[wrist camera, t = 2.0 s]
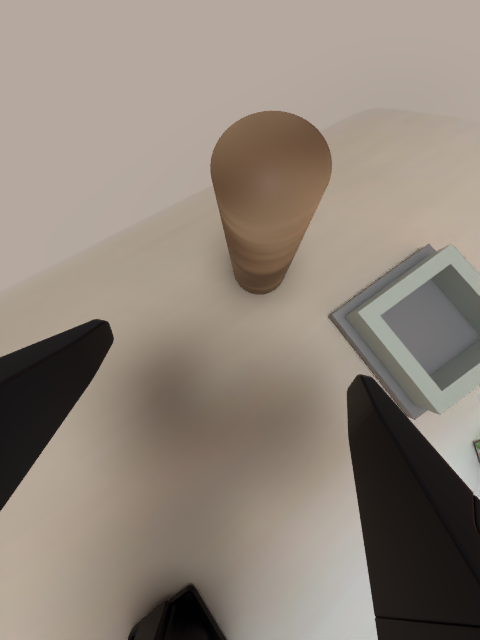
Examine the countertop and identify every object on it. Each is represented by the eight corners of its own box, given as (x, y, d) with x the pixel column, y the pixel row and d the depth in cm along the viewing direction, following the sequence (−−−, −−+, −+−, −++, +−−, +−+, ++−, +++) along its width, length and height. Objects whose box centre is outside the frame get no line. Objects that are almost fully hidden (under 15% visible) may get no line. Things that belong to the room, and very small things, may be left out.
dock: (504, 342, 21) (556, 342, 17) (406, 416, 20) (439, 430, 17) (421, 248, 22) (453, 229, 18) (328, 315, 22) (343, 309, 18)
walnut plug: (295, 274, 22) (357, 174, 9) (253, 304, 22) (257, 245, 9) (264, 234, 23) (282, 89, 10) (223, 264, 23) (187, 155, 10)
